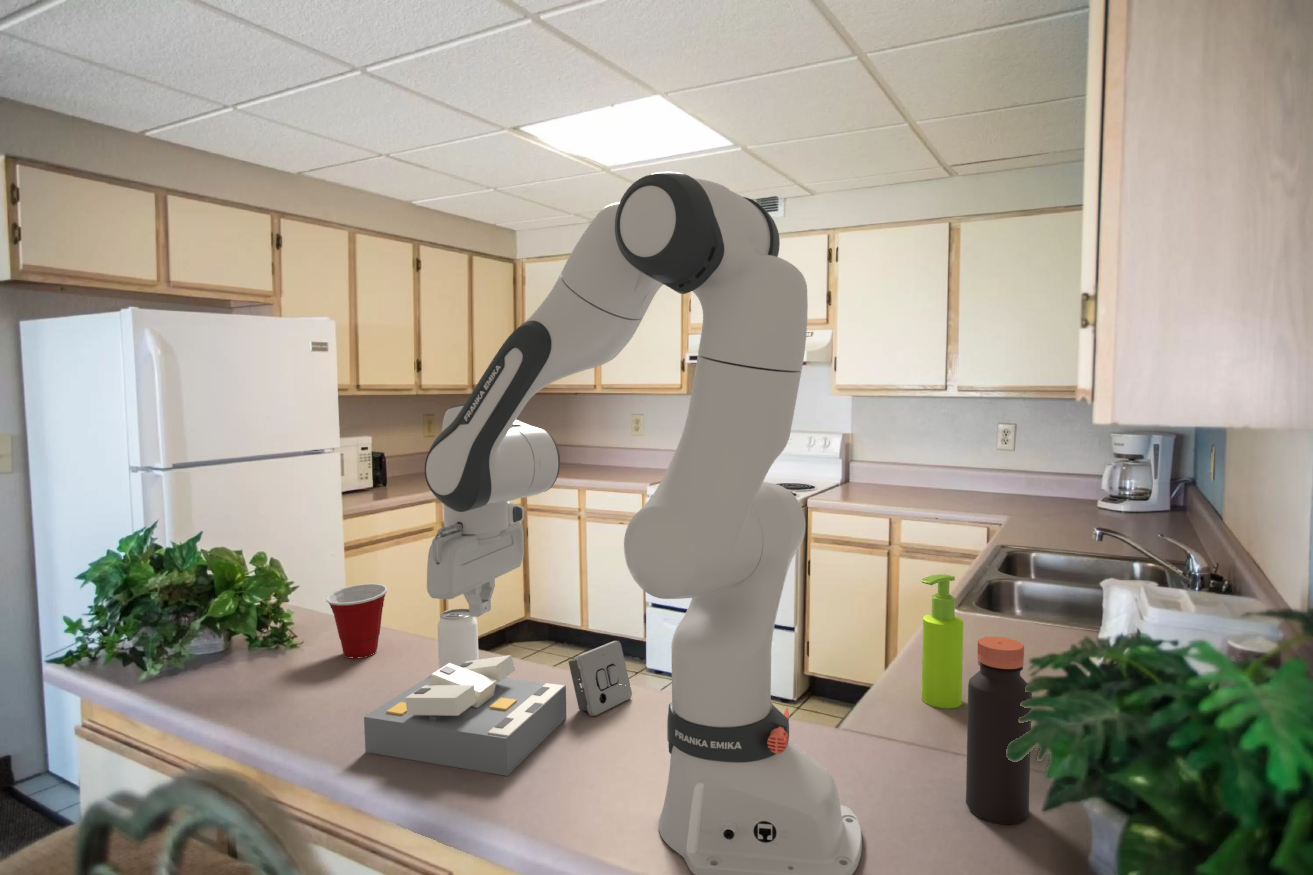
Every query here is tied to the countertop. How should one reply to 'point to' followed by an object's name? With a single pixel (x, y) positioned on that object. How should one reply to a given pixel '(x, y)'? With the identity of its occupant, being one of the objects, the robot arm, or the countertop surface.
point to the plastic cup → (358, 617)
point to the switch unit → (470, 728)
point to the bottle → (997, 733)
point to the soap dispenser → (942, 648)
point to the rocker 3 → (491, 667)
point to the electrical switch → (600, 678)
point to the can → (457, 637)
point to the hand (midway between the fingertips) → (480, 613)
